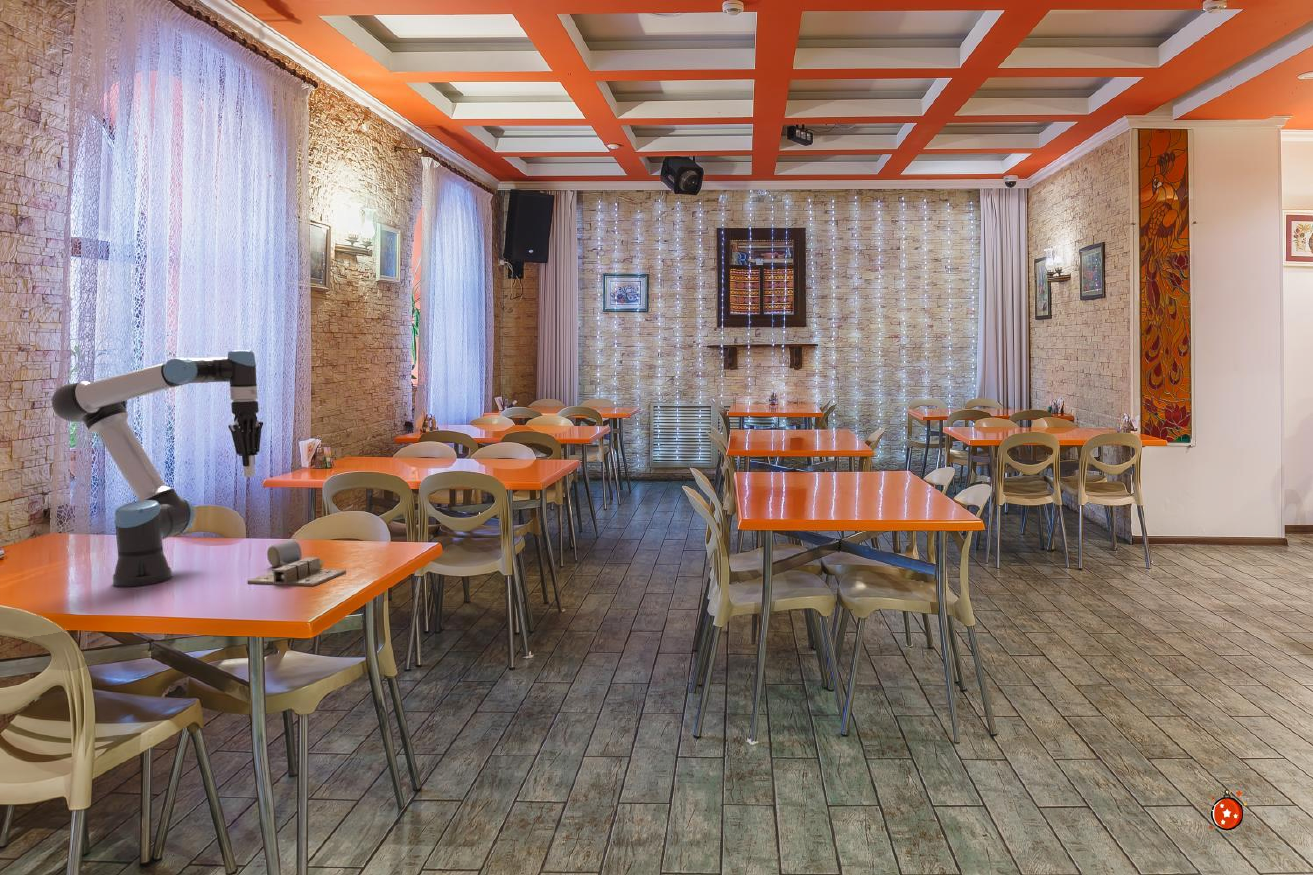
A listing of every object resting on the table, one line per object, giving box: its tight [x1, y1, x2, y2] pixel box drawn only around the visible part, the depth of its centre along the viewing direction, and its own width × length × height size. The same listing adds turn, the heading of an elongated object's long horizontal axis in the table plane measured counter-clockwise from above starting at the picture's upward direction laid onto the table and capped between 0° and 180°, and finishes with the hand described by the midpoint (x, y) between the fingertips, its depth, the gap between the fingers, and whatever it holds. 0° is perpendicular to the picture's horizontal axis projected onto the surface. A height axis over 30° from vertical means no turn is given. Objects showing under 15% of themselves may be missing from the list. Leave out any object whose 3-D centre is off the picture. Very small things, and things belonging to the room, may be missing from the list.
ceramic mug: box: [266, 539, 303, 568], centre depth 271 cm, size 11×8×8 cm
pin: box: [279, 557, 324, 581], centre depth 257 cm, size 17×3×3 cm, turn 167°
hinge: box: [247, 556, 347, 587], centre depth 255 cm, size 16×22×4 cm
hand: (249, 476), depth 265 cm, fingers closed
